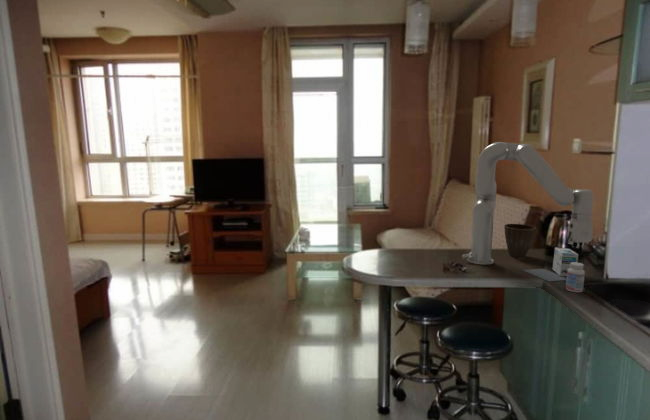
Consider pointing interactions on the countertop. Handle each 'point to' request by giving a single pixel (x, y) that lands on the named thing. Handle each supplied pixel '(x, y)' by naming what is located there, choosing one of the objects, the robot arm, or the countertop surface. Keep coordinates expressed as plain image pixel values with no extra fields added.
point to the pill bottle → (575, 277)
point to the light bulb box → (563, 260)
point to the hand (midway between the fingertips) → (577, 256)
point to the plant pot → (518, 239)
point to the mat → (546, 275)
